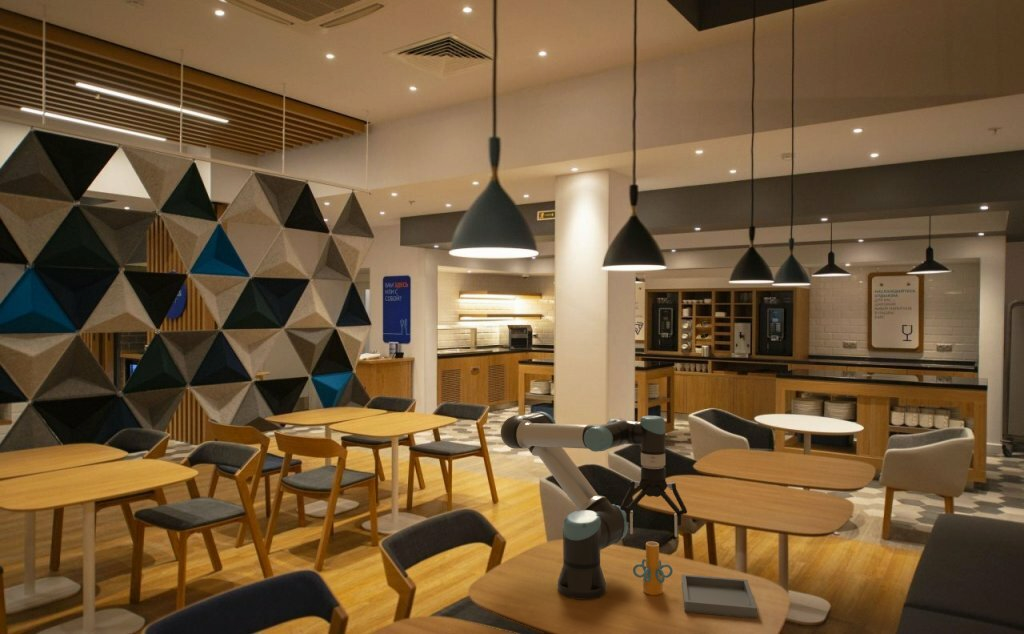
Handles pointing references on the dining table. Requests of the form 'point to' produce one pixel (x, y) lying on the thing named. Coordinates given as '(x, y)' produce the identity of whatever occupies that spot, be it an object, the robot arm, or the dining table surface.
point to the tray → (718, 596)
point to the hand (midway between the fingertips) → (653, 534)
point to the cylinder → (652, 570)
